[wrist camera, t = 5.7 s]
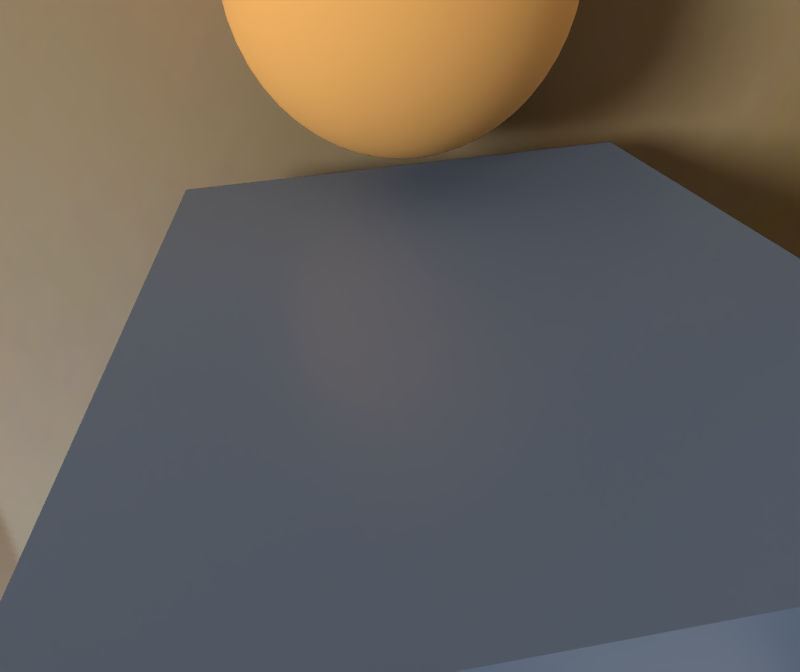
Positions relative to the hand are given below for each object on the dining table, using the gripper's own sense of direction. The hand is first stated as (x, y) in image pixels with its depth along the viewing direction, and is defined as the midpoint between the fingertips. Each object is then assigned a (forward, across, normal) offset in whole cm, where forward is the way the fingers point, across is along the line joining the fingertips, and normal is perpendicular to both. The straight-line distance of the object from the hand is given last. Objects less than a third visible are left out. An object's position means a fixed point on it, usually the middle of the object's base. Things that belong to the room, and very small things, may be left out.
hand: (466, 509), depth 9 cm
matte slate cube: (+4, 0, 0) cm, 5 cm away
